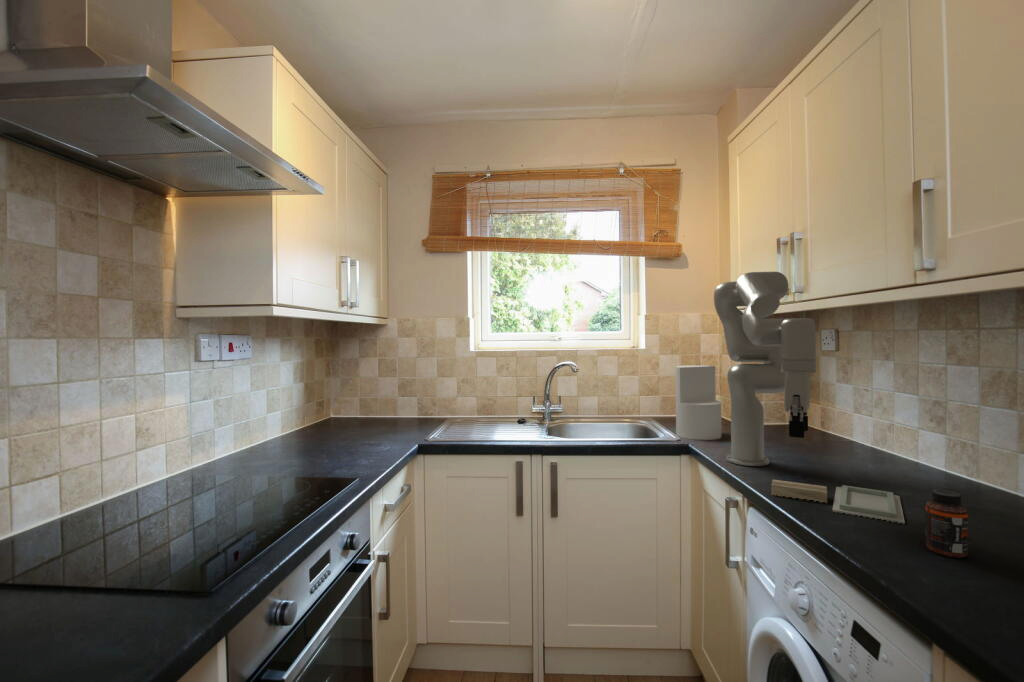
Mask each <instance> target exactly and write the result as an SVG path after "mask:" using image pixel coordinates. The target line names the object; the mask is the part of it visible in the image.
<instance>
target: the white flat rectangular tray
mask: <svg viewBox="0 0 1024 682" xmlns="http://www.w3.org/2000/svg"><path fill="white" fill-rule="evenodd" d="M832 511H833V513H838V512H839V514H843V513H845V515H849V514H850V516H855V515H857V516H856V517H860V516H863V517H862V518H866V517H869V518H868V519H872V518H875V519H874V520H877V519H881V520H880V521H883V520H886V521H885V522H889V521H891V522H890V523H895V522H897V523H896V524H900V523H902V524H901V525H905V523H906V521H905V518H904V517H905V516H904V513H903V512H904V511H903V508H902V503H901V497H900V495H894V492H891V491H885V490H880V489H879V490H878V489H872V488H865V487H864V488H863V487H858V486H852V485H851V486H850V485H846V484H845V485H844V484H842V485H841V486H836V487H835V494H834V498H833V505H832Z"/></svg>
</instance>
